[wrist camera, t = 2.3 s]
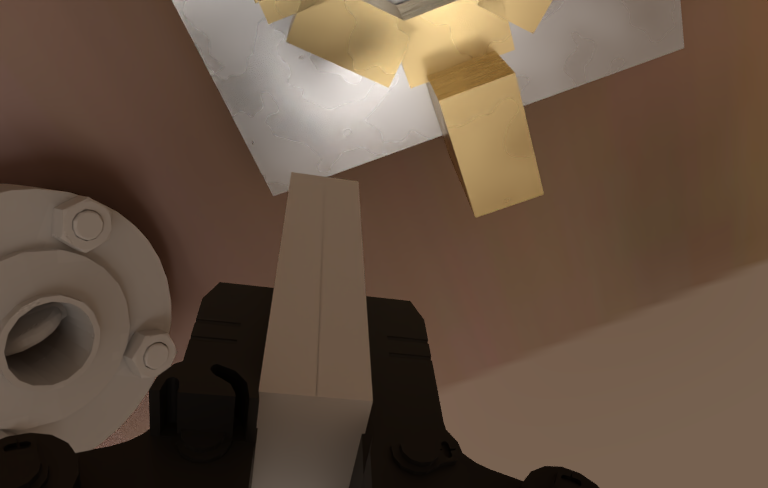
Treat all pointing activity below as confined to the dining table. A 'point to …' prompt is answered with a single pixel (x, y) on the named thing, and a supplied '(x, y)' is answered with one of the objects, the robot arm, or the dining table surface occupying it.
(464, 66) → the ring nut
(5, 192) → the mechanical valve
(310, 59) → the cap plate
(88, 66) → the dining table surface
